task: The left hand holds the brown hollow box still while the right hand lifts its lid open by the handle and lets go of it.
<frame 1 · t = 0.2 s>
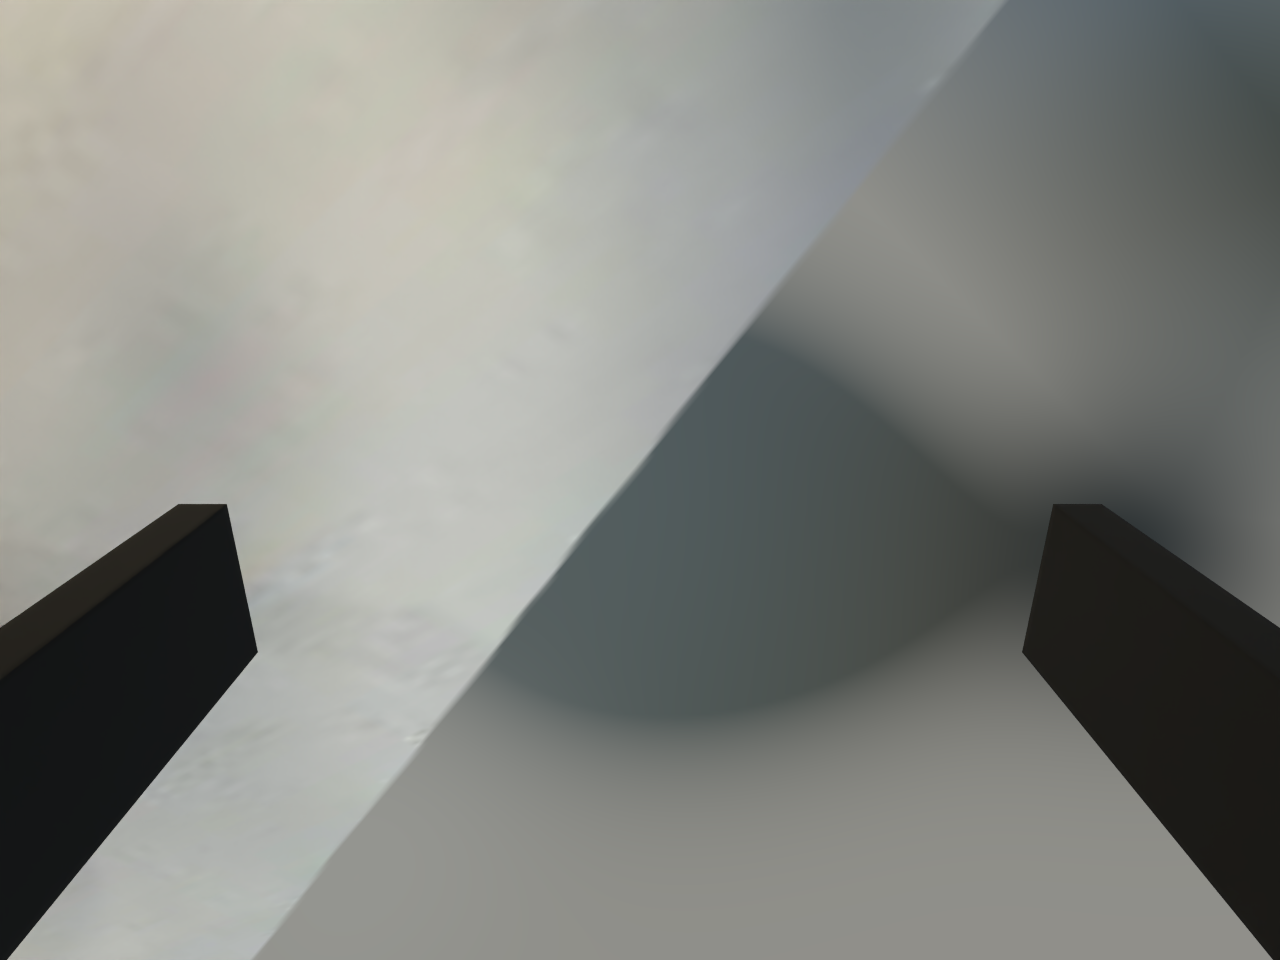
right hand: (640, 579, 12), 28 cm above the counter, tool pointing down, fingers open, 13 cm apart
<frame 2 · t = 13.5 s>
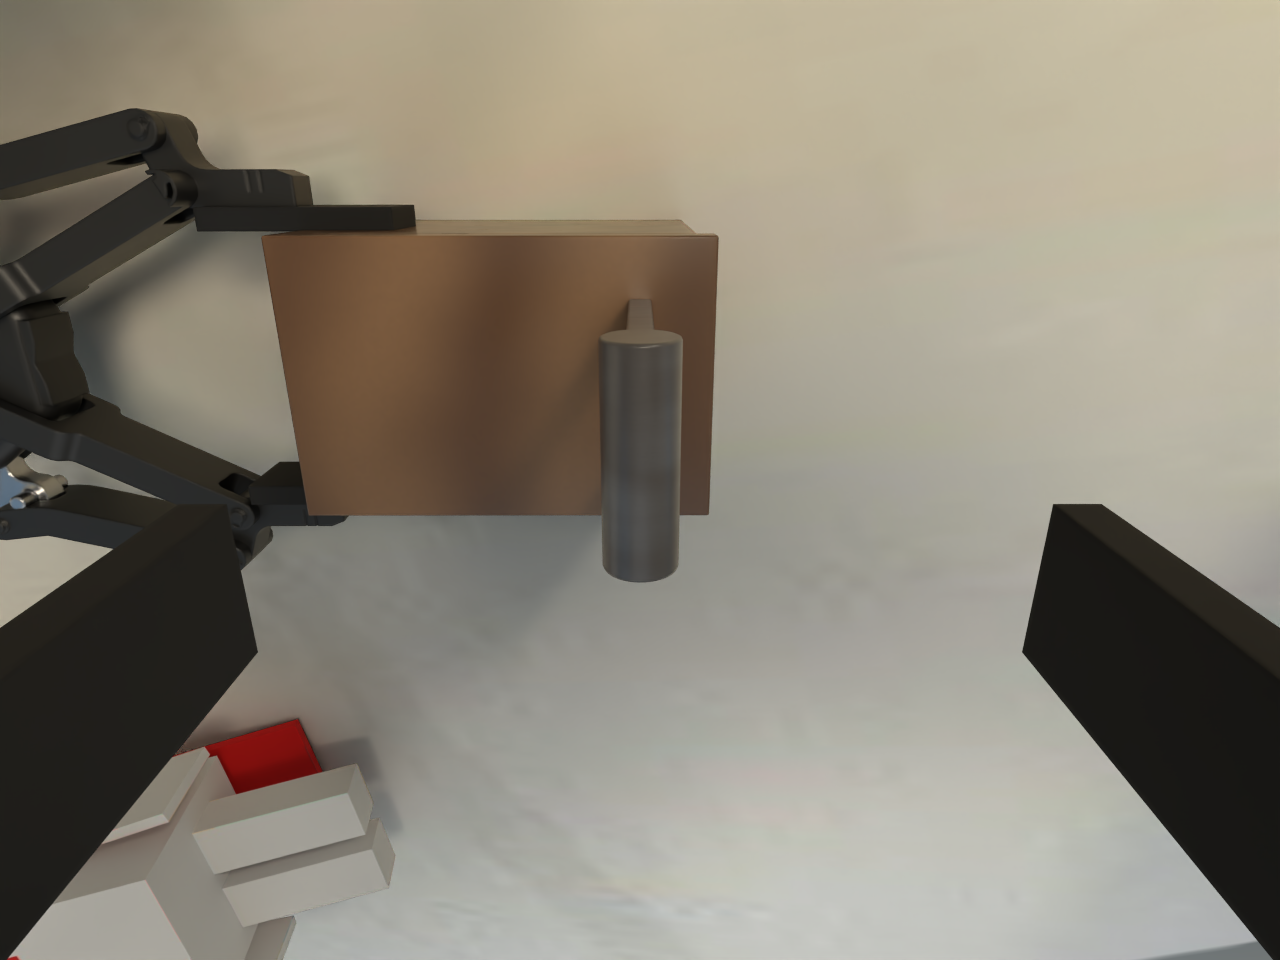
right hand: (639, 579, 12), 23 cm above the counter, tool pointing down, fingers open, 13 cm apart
left hand: (418, 358, 28), fingers closed on brown hollow box, 9 cm apart
lid: (478, 415, 21), point 14 cm above the counter, hinge at 0.0°
brown hollow box: (533, 327, 34), on the counter, touching left hand
toy: (145, 808, 44), on the counter
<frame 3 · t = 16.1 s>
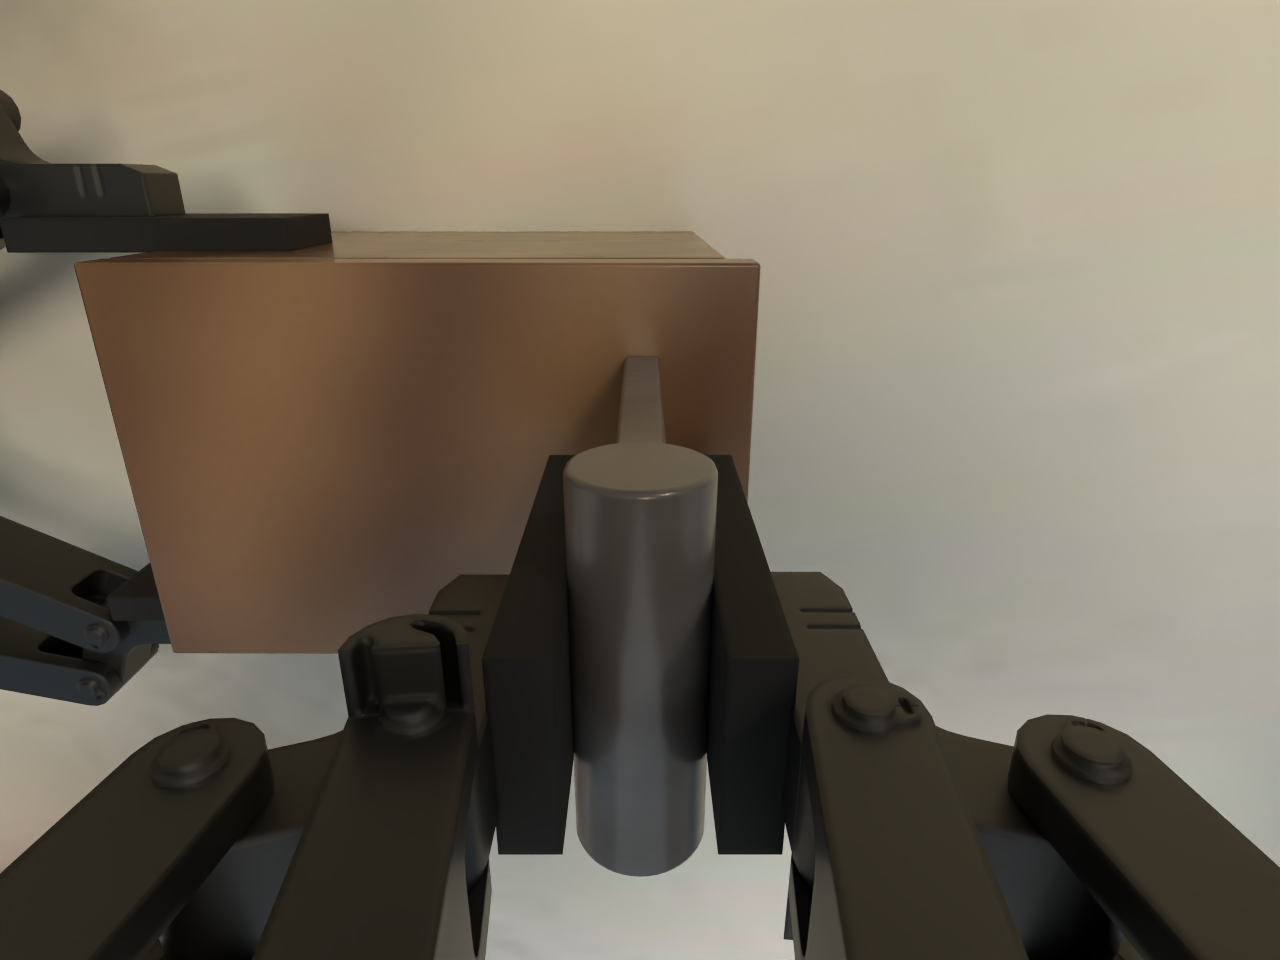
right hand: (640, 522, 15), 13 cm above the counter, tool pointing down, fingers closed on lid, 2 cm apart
lid: (388, 548, 14), point 14 cm above the counter, hinge at 0.8°, touching right hand
brown hollow box: (502, 369, 27), on the counter, touching left hand
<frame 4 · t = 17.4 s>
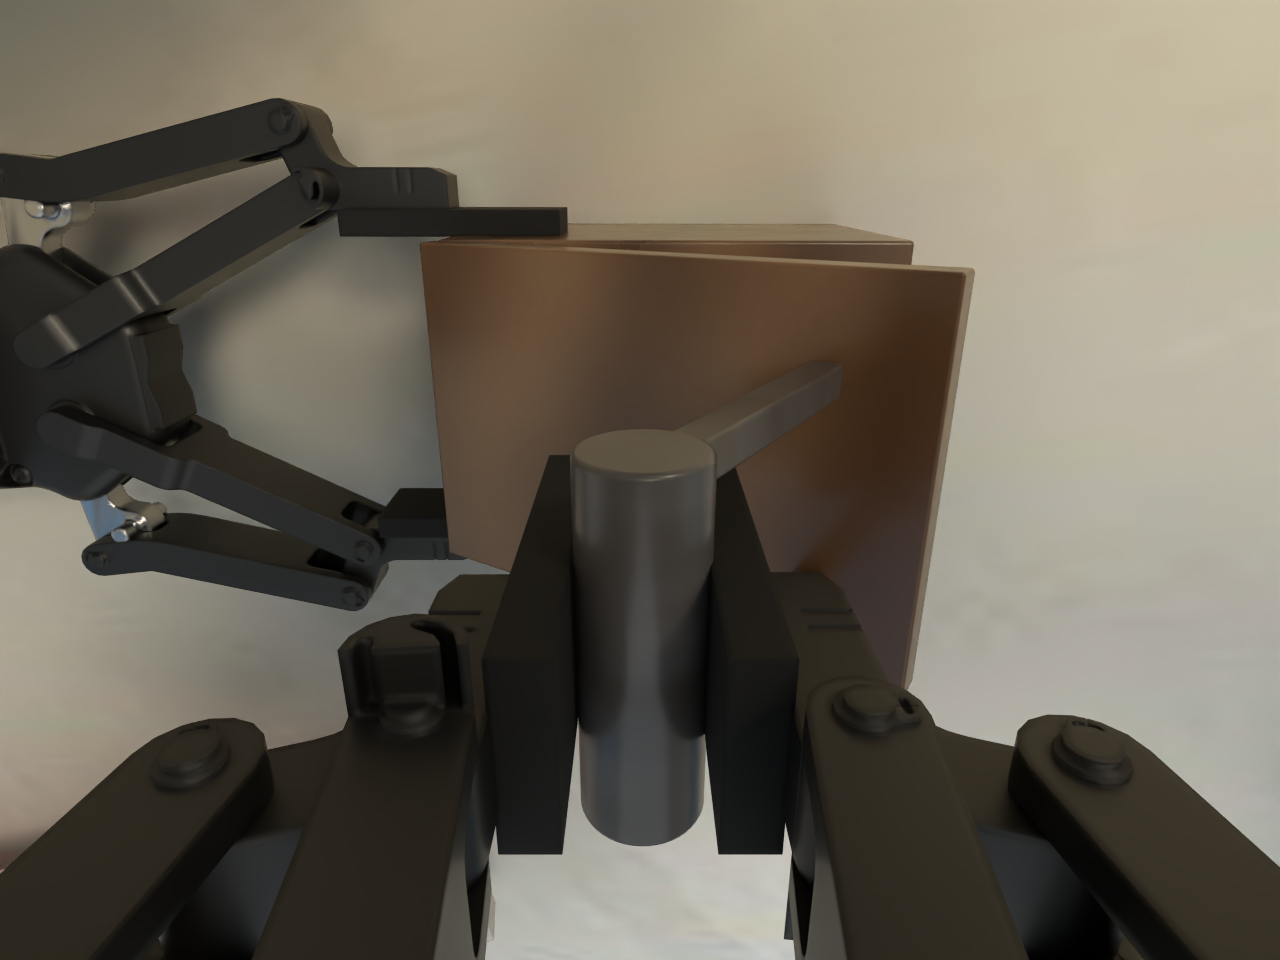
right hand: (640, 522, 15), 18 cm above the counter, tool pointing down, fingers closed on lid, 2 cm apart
left hand: (568, 376, 26), fingers closed on brown hollow box, 9 cm apart
lid: (546, 497, 16), point 17 cm above the counter, hinge at 31.7°, touching right hand
brown hollow box: (665, 340, 32), on the counter, touching left hand
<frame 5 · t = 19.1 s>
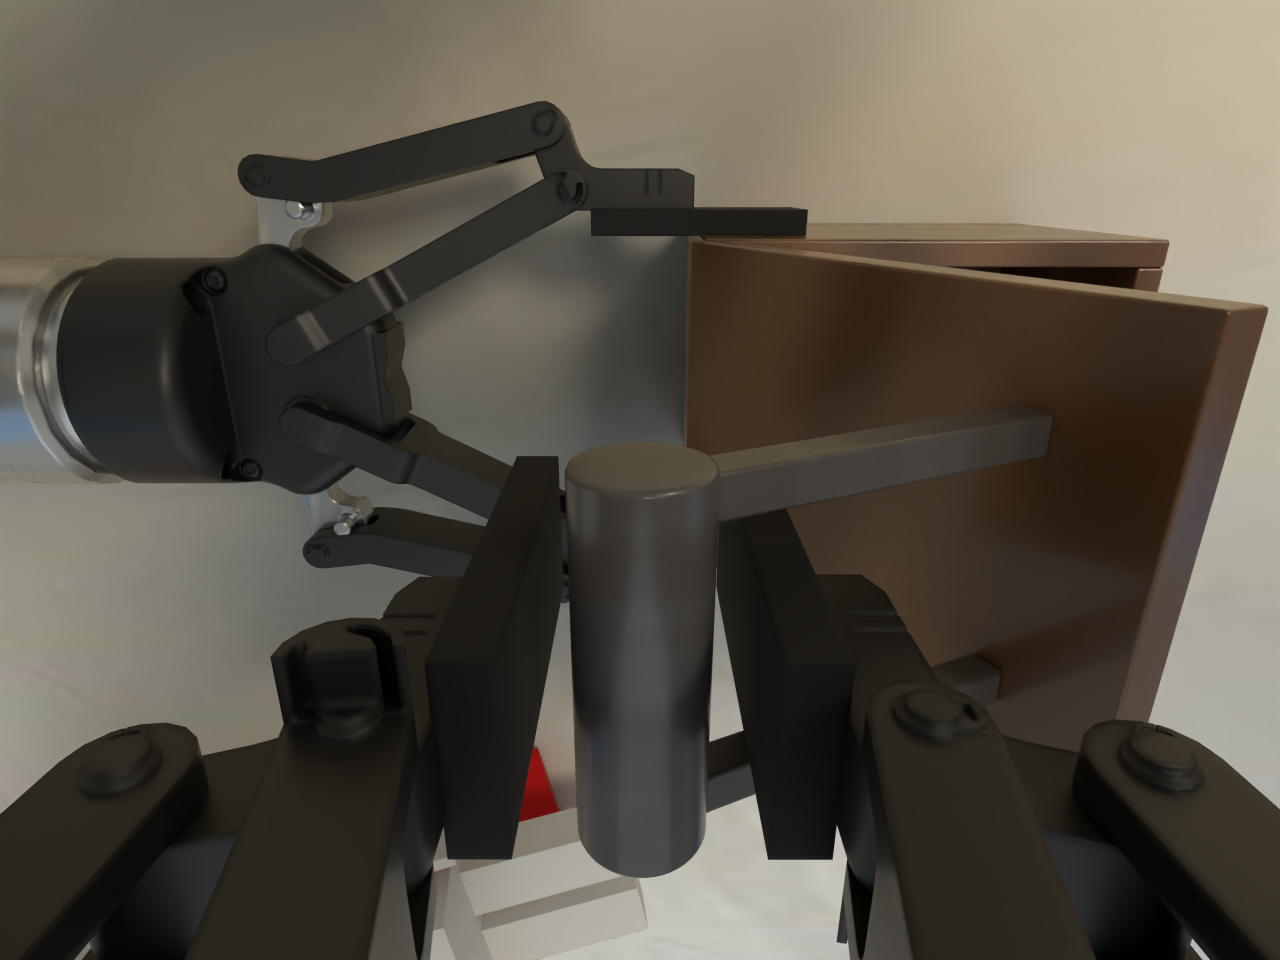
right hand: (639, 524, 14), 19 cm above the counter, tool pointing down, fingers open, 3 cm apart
left hand: (787, 372, 26), fingers closed on brown hollow box, 9 cm apart
lid: (699, 503, 15), point 18 cm above the counter, hinge at 63.8°
brown hollow box: (842, 338, 32), on the counter, touching left hand
toy: (363, 840, 42), on the counter
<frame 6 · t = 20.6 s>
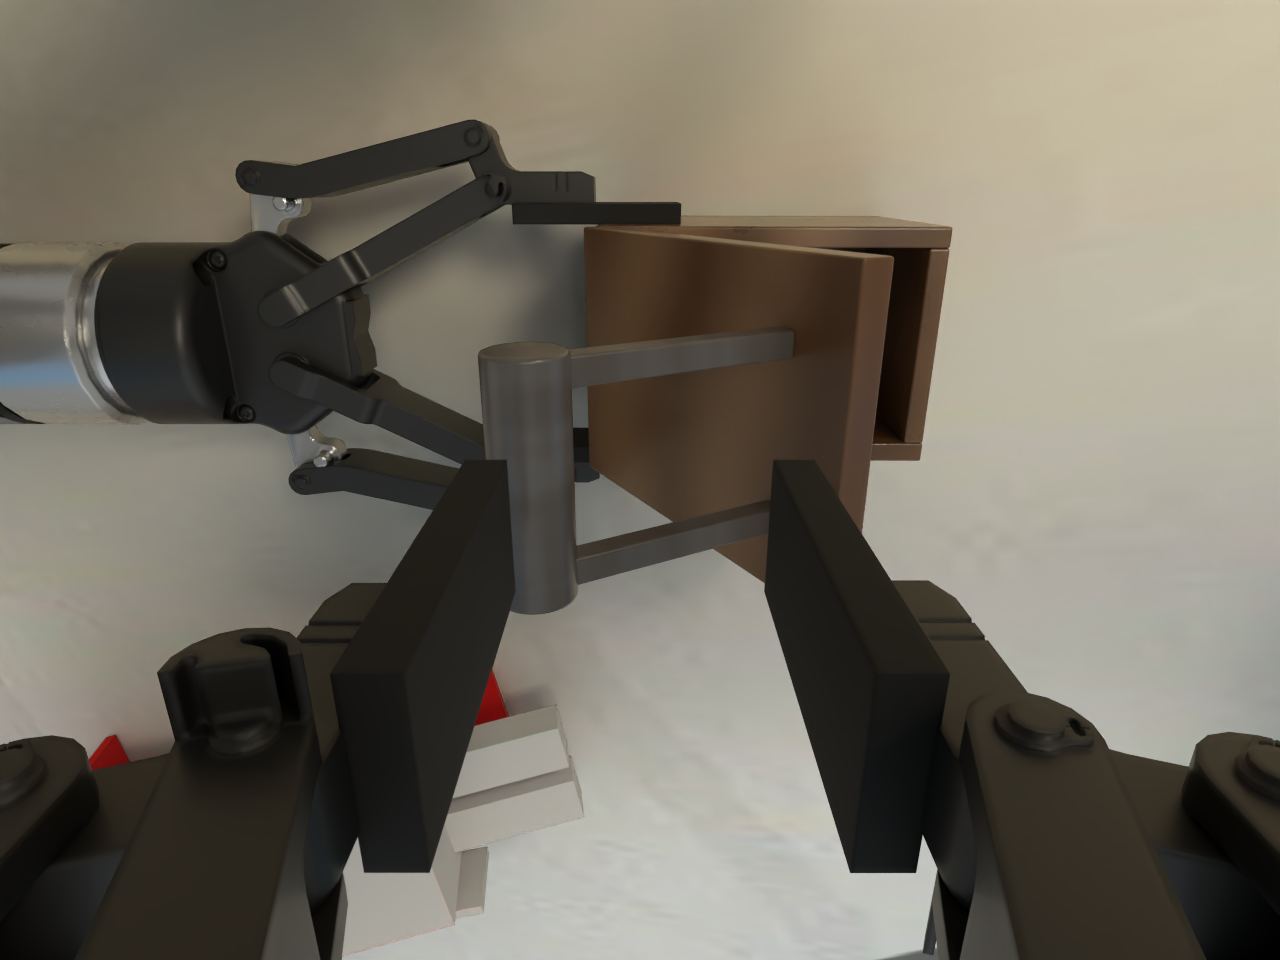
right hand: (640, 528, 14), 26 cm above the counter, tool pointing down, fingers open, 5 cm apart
left hand: (676, 334, 33), fingers closed on brown hollow box, 9 cm apart
lid: (583, 409, 22), point 18 cm above the counter, hinge at 59.8°
brown hollow box: (738, 311, 39), on the counter, touching left hand
toy: (342, 752, 48), on the counter
when the left hand's fingers open (6 cm above the counter, at t = 23.4 s): brown hollow box stays where it is, on the counter.
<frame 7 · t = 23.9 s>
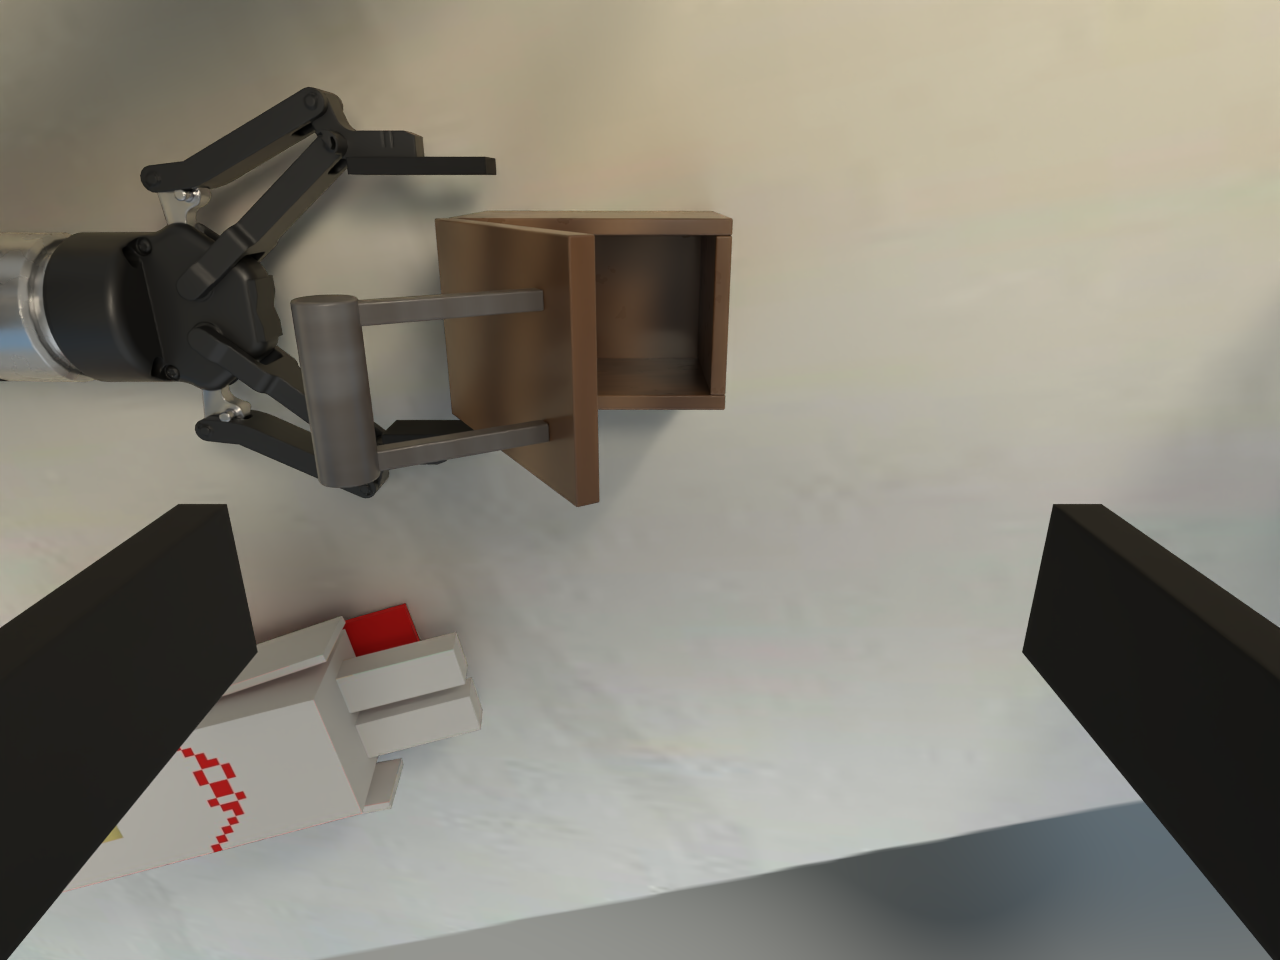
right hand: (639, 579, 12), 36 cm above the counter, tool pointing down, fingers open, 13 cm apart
left hand: (501, 308, 40), fingers open, 13 cm apart
lid: (409, 354, 29), point 18 cm above the counter, hinge at 59.0°
brown hollow box: (601, 292, 46), on the counter
toy: (279, 679, 56), on the counter
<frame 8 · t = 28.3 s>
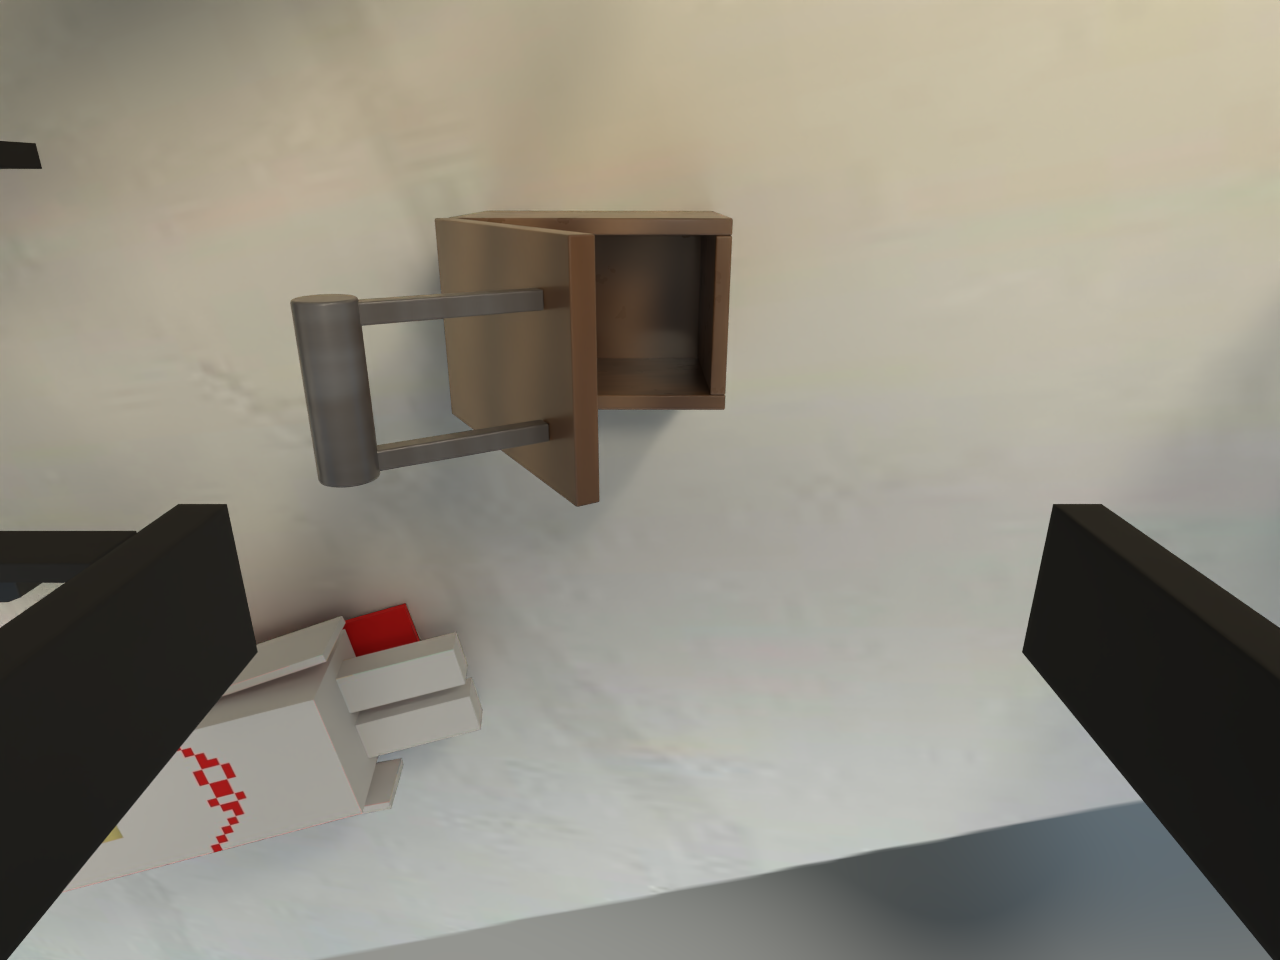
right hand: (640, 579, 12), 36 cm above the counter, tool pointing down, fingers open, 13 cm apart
lid: (409, 354, 29), point 18 cm above the counter, hinge at 59.0°
brown hollow box: (601, 292, 46), on the counter
toy: (279, 679, 56), on the counter
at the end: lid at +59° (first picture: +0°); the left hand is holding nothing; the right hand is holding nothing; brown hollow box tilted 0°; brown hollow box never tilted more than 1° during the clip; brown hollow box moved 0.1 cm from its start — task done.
